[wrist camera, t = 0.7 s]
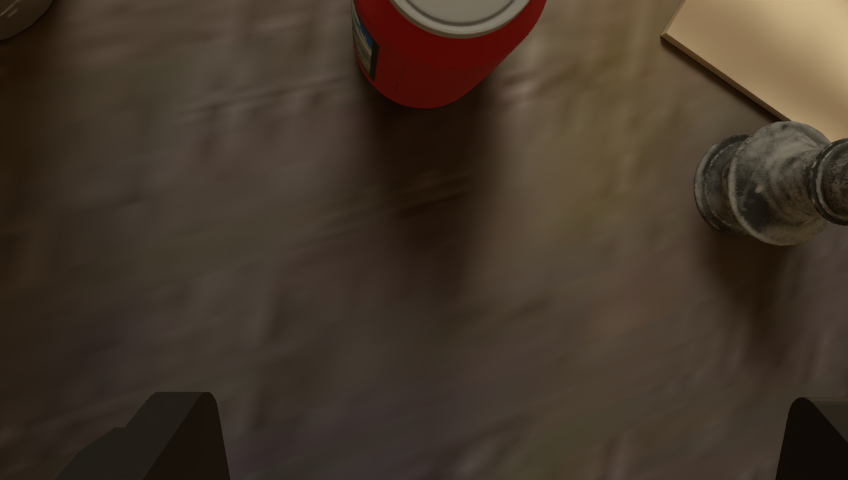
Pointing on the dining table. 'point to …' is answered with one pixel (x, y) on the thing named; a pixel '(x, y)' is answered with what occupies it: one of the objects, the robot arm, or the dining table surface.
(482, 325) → the dining table surface
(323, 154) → the dining table surface
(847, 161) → the grey chess piece
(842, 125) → the birch board
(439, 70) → the beverage can
